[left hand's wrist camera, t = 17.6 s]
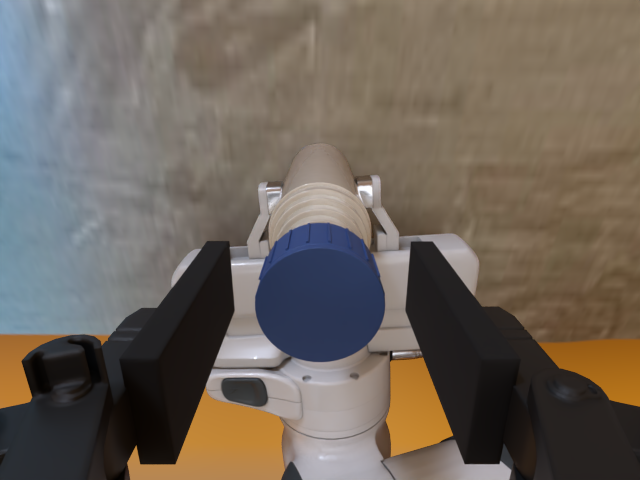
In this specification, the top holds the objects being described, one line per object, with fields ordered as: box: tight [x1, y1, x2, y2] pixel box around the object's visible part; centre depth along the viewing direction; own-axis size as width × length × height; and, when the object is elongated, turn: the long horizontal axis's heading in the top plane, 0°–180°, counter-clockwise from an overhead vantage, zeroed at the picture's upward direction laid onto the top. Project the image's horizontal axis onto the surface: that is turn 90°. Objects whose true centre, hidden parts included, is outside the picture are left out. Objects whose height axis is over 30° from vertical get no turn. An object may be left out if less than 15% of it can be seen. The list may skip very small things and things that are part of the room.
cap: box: [255, 222, 385, 362], centre depth 13 cm, size 4×4×2 cm
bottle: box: [268, 143, 372, 249], centre depth 23 cm, size 5×5×21 cm
